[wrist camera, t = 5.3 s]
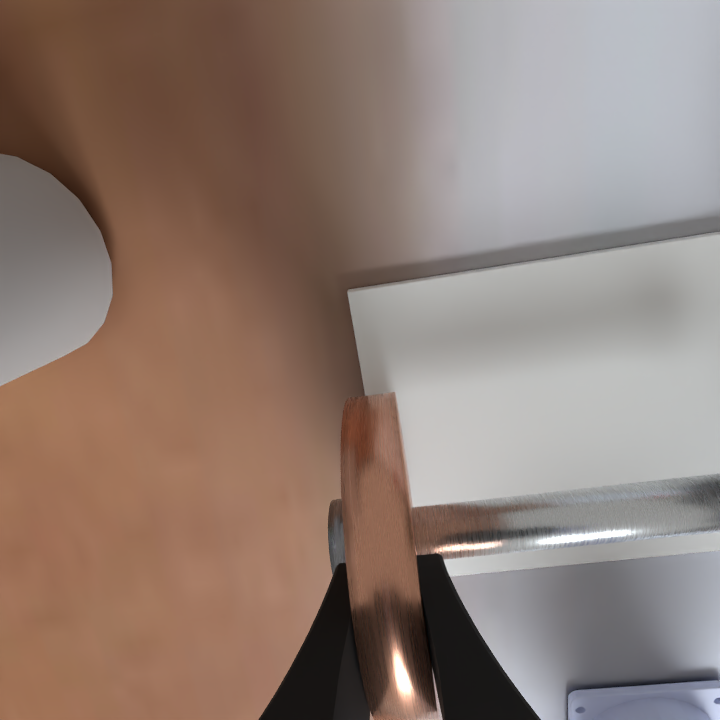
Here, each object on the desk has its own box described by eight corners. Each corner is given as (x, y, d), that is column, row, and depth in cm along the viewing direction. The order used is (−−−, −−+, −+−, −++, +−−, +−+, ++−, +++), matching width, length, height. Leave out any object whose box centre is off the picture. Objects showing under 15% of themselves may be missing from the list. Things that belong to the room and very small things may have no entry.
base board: (987, 513, 19) (1006, 523, 18) (396, 571, 21) (397, 581, 21) (1117, 169, 14) (1147, 167, 14) (348, 289, 17) (347, 292, 16)
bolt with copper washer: (726, 511, 18) (1033, 778, 10) (363, 548, 19) (353, 812, 11) (754, 302, 15) (1230, 420, 7) (325, 363, 17) (273, 526, 8)
